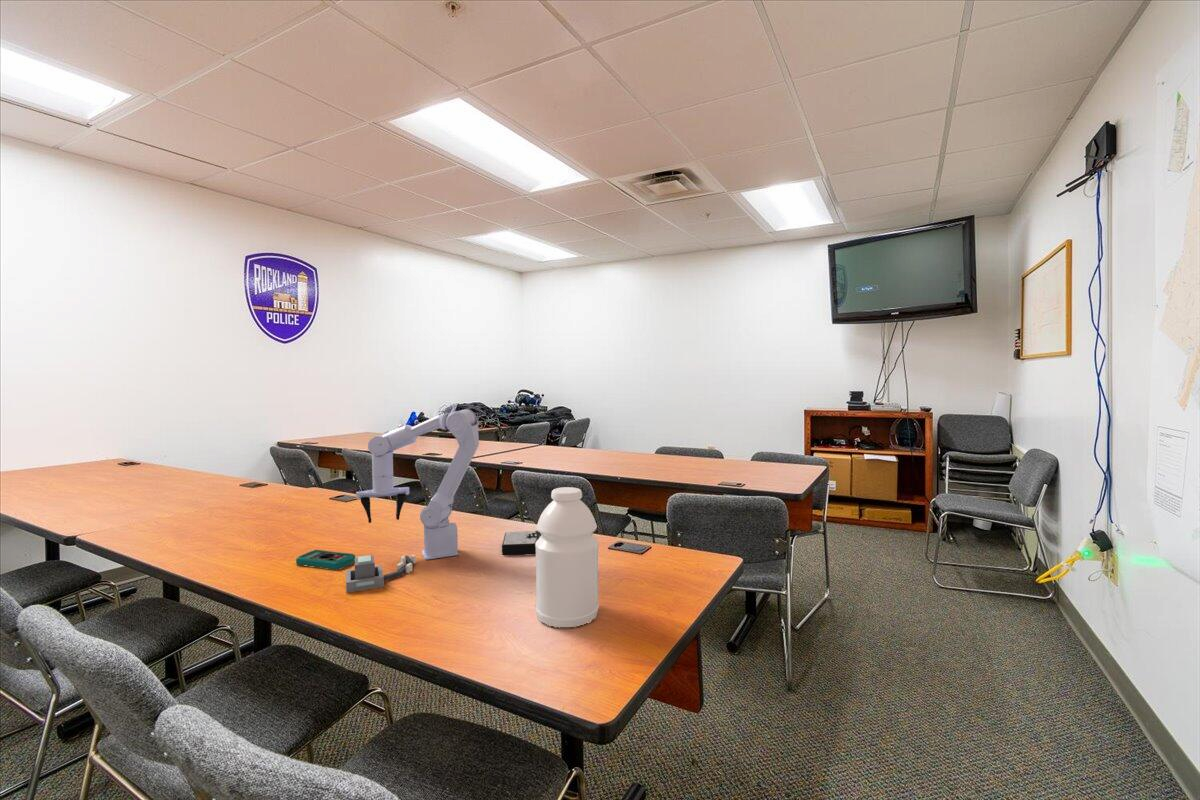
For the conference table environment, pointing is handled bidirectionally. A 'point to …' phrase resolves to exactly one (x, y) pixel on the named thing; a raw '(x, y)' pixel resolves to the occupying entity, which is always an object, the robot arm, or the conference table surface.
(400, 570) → the routed cable
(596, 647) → the conference table surface
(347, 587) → the frame
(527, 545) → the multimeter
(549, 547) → the bottle
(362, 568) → the connector block
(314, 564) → the digital multimeter
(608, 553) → the conference table surface
